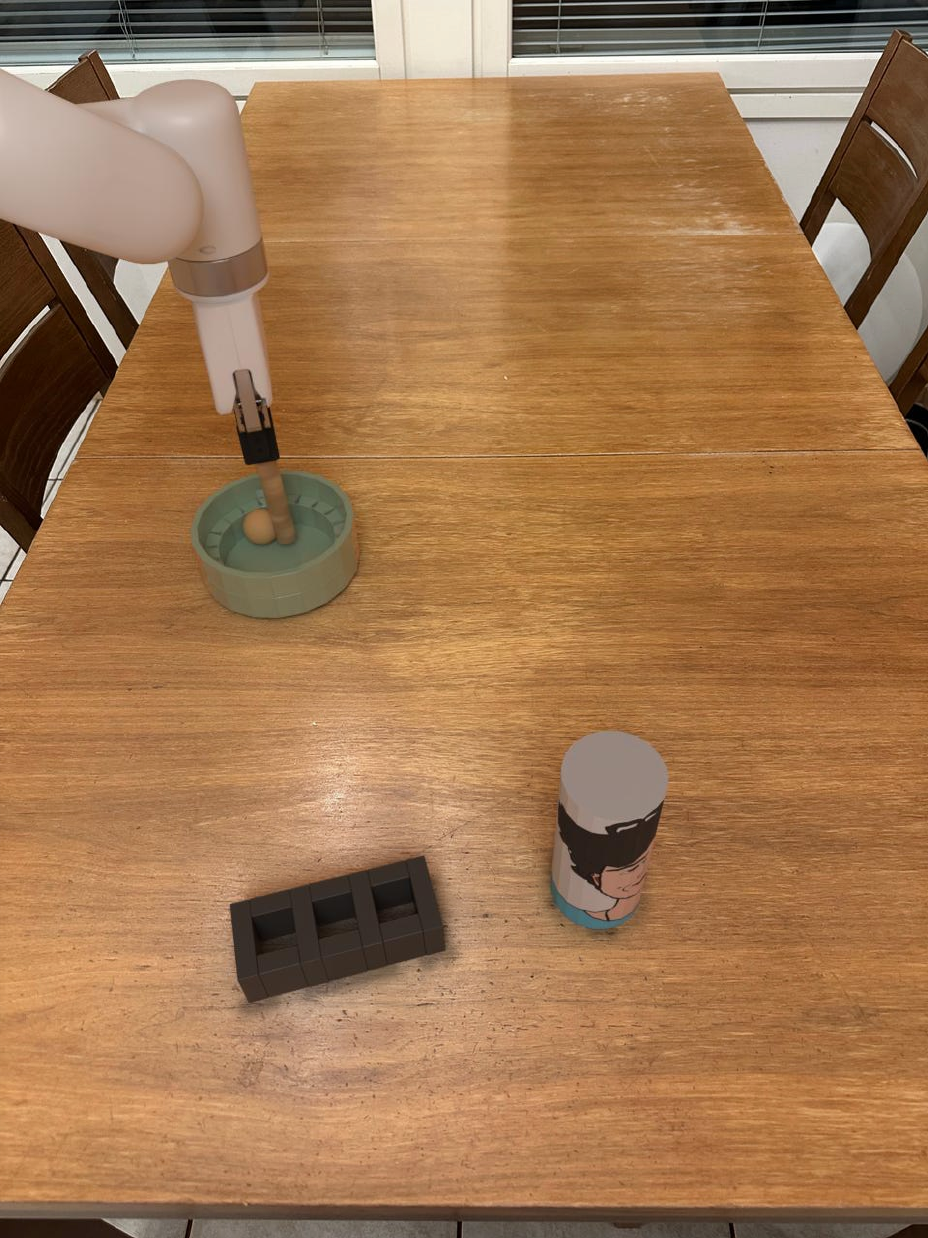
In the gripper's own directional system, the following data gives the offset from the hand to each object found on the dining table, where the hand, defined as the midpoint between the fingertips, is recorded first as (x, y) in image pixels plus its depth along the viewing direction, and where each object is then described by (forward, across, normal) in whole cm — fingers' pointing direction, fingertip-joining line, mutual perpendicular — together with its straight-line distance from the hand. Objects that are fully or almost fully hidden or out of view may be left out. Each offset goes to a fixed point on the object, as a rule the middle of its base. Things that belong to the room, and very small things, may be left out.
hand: (260, 450), depth 87 cm
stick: (+11, +1, +1) cm, 11 cm away
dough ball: (+10, -1, -2) cm, 10 cm away
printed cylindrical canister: (+12, +43, +18) cm, 49 cm away
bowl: (+12, +3, 0) cm, 13 cm away
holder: (+12, +43, -1) cm, 44 cm away
